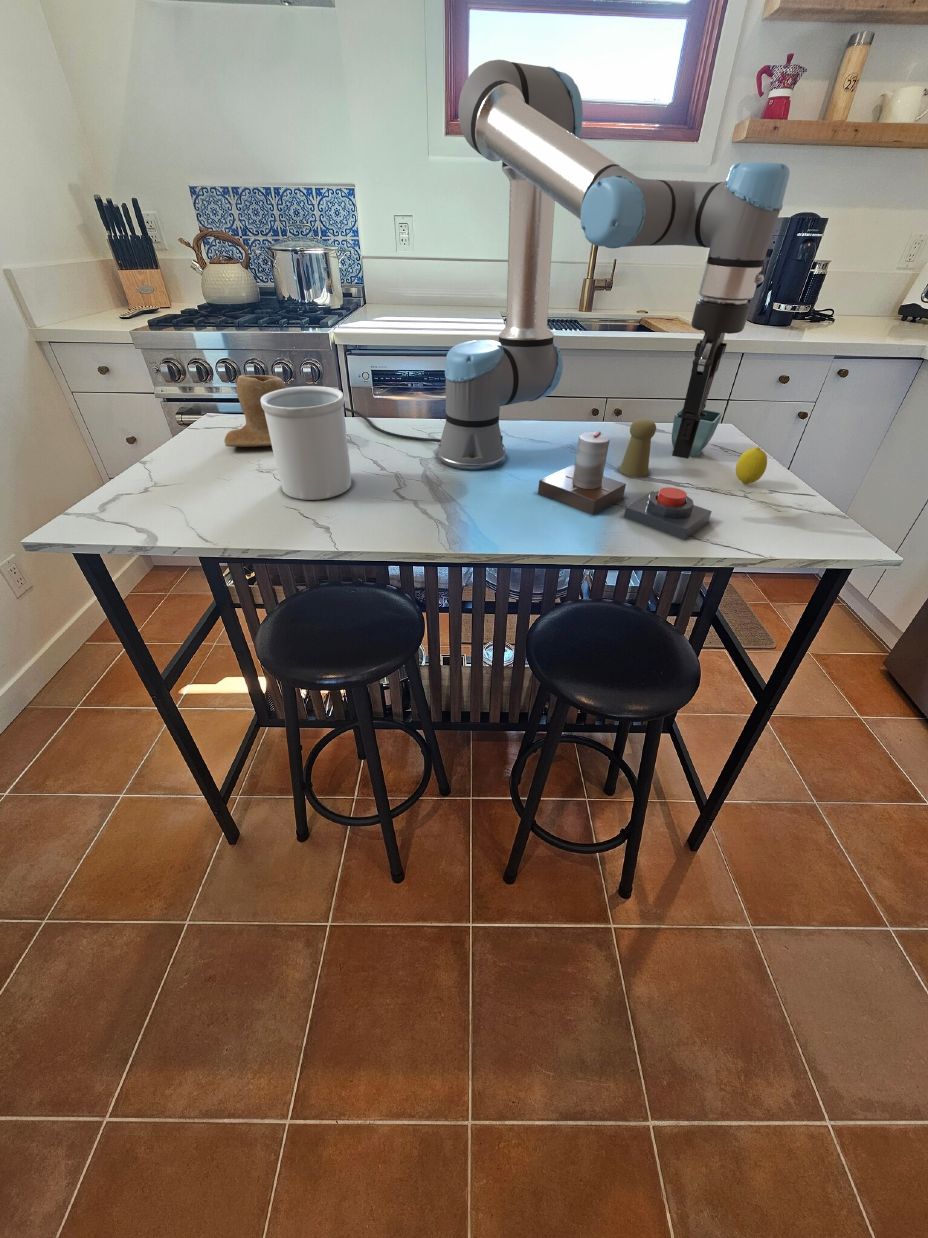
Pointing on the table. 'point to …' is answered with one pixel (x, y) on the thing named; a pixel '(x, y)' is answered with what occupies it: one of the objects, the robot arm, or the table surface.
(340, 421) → the utensil holder
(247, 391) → the tan felt boot
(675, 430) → the flower pot
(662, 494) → the button
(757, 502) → the table surface
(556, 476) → the control panel
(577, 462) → the knob
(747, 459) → the lemon
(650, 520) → the button box
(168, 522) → the table surface
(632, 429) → the olive pawn figure
